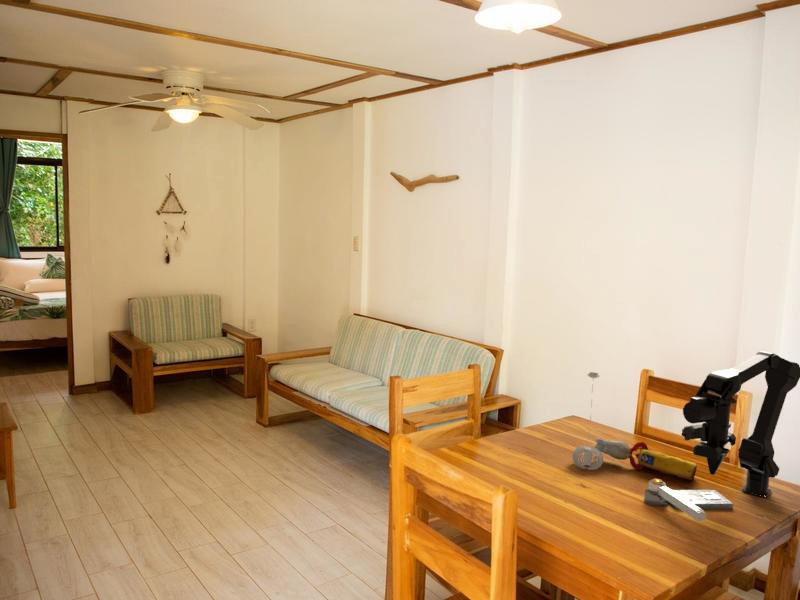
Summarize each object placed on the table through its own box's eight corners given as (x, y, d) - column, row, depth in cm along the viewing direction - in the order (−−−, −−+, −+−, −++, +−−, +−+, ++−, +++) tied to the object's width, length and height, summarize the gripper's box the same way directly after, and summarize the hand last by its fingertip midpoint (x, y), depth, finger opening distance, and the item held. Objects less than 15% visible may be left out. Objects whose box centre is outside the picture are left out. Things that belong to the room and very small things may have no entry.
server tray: (676, 509, 176) (676, 502, 176) (660, 495, 185) (660, 488, 185) (732, 508, 177) (733, 502, 177) (714, 494, 186) (714, 488, 186)
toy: (701, 451, 201) (603, 423, 216) (696, 463, 190) (593, 434, 205) (696, 477, 203) (599, 448, 218) (690, 491, 192) (589, 460, 207)
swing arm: (644, 488, 181) (645, 478, 181) (658, 487, 183) (659, 477, 182) (693, 522, 162) (694, 510, 162) (708, 520, 163) (709, 508, 163)
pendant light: (599, 462, 209) (605, 370, 205) (605, 473, 200) (612, 377, 196) (569, 460, 210) (575, 369, 206) (574, 471, 200) (580, 376, 197)
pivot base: (648, 495, 184) (649, 486, 184) (670, 501, 181) (671, 492, 180) (640, 502, 180) (641, 493, 180) (663, 508, 176) (663, 499, 176)
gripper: (697, 406, 191) (692, 457, 193) (675, 420, 177) (671, 475, 179) (738, 414, 184) (733, 468, 186) (720, 429, 169) (714, 487, 171)
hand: (712, 474), depth 180 cm, fingers closed
